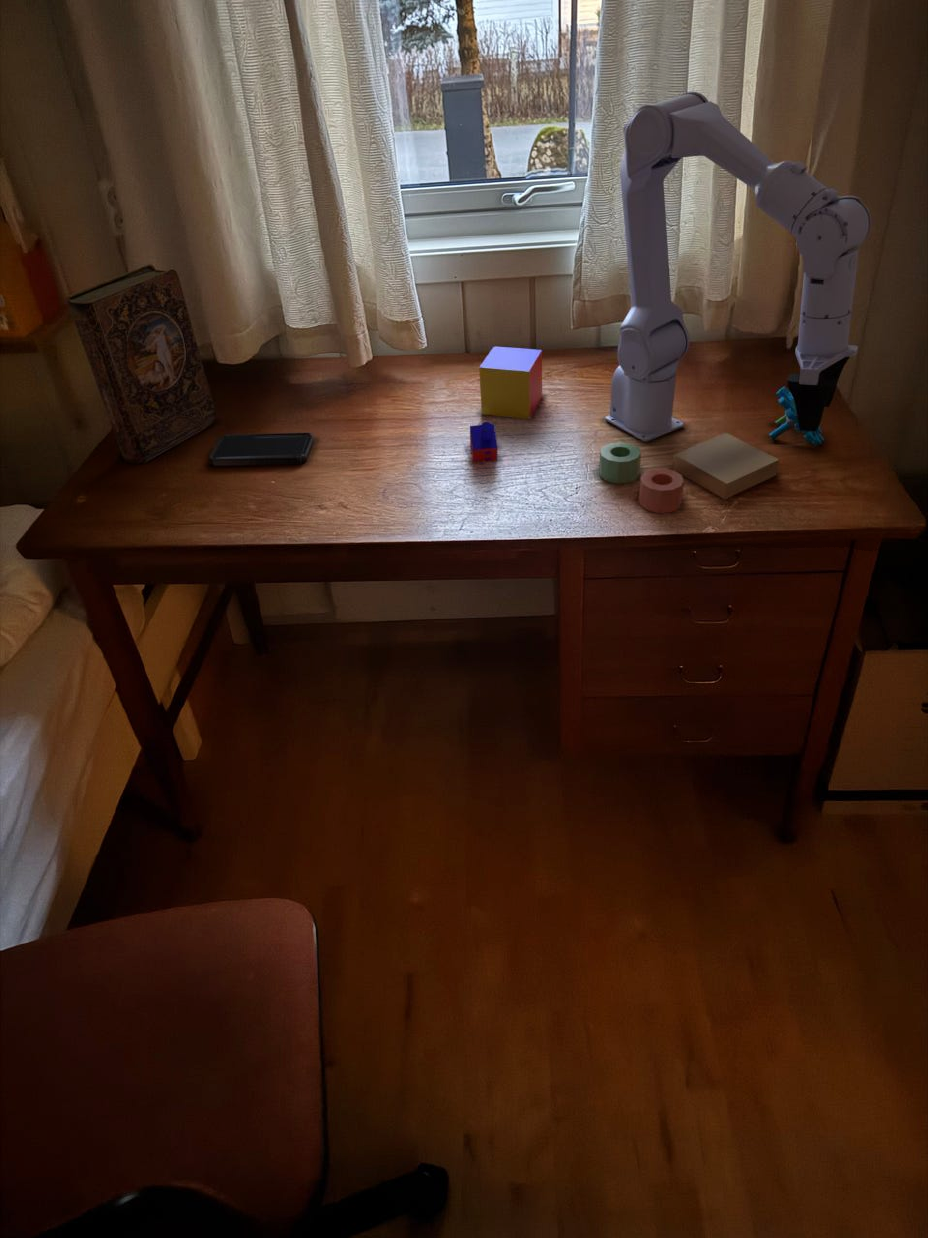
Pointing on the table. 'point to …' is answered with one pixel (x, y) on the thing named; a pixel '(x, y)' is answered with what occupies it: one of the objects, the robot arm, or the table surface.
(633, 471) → the green ring
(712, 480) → the birch block
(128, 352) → the book
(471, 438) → the toy building block
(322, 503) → the table surface
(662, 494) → the coral ring
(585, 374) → the table surface
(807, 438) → the gear
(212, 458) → the phone
